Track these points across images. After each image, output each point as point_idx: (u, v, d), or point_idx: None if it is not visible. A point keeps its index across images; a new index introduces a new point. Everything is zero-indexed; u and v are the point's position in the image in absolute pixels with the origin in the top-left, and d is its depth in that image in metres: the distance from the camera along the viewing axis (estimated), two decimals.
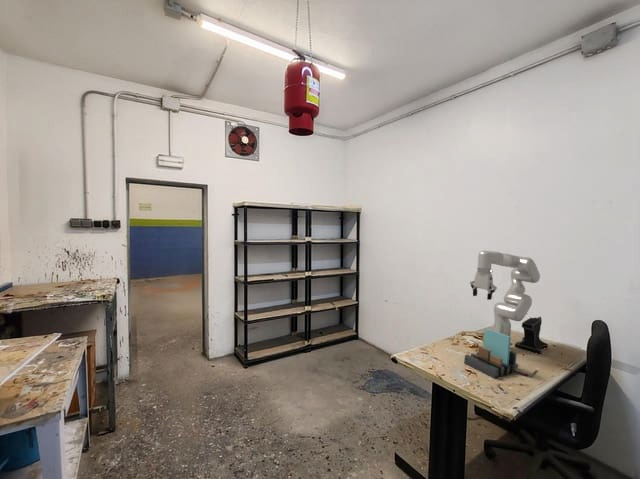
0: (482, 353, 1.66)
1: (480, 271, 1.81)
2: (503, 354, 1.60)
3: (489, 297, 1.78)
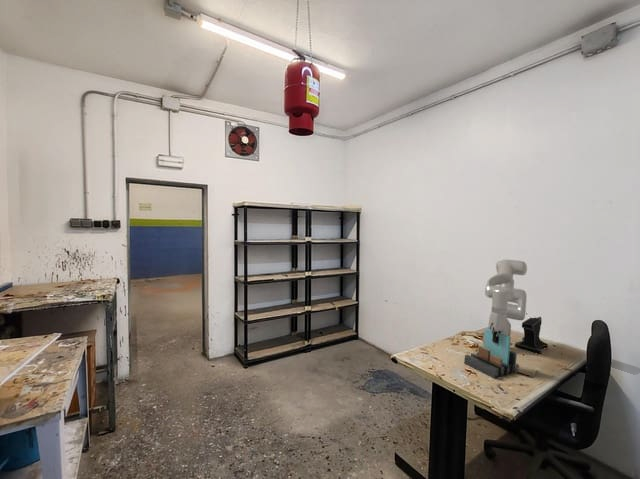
0: (482, 353, 1.66)
1: (505, 312, 1.61)
2: (503, 354, 1.60)
3: None
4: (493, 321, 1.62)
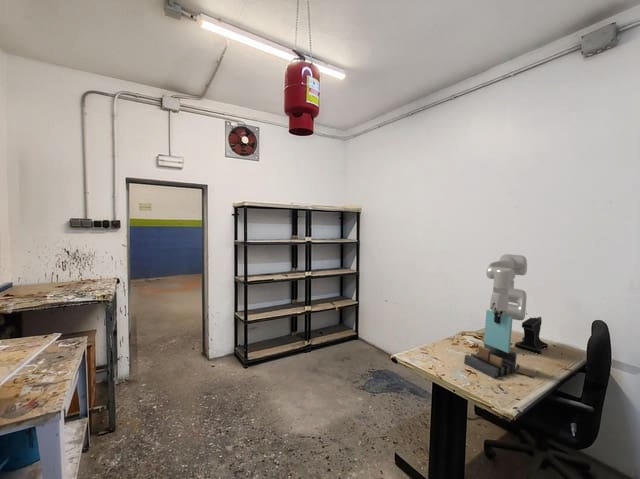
0: (482, 353, 1.66)
1: (507, 292, 1.60)
2: (505, 334, 1.60)
3: None
4: (495, 301, 1.61)
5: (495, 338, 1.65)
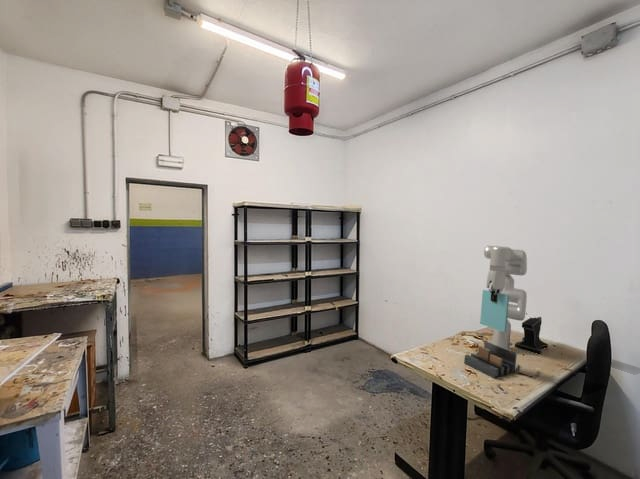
0: (482, 353, 1.66)
1: (504, 270, 1.58)
2: (501, 313, 1.57)
3: None
4: (491, 279, 1.59)
5: (491, 318, 1.62)
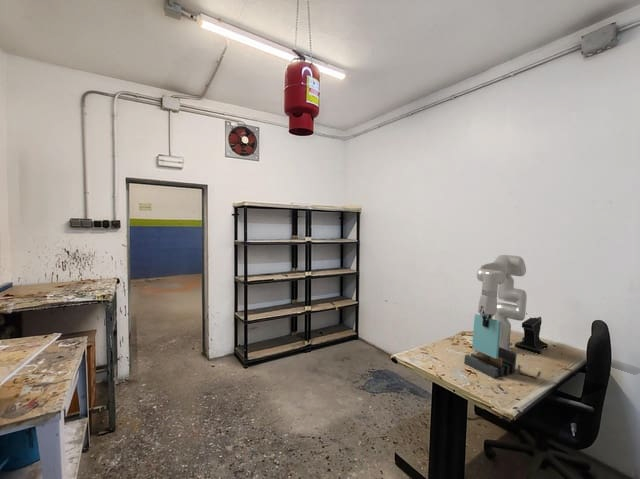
0: (482, 353, 1.66)
1: (496, 295, 1.56)
2: (493, 340, 1.55)
3: None
4: (483, 304, 1.57)
5: (483, 343, 1.60)
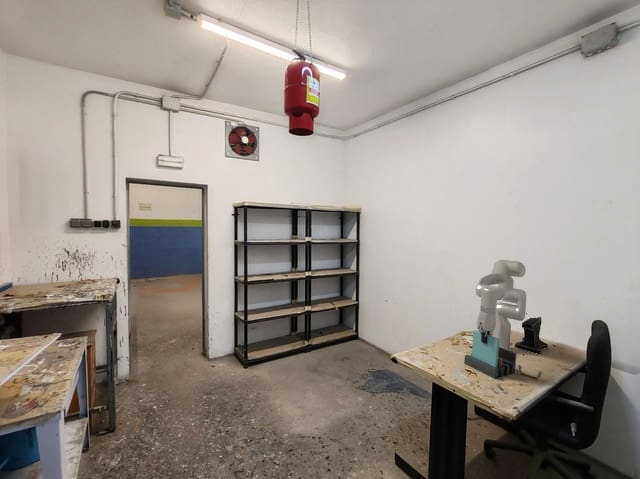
0: None
1: (494, 312, 1.56)
2: (492, 357, 1.56)
3: None
4: (482, 321, 1.57)
5: (482, 360, 1.61)
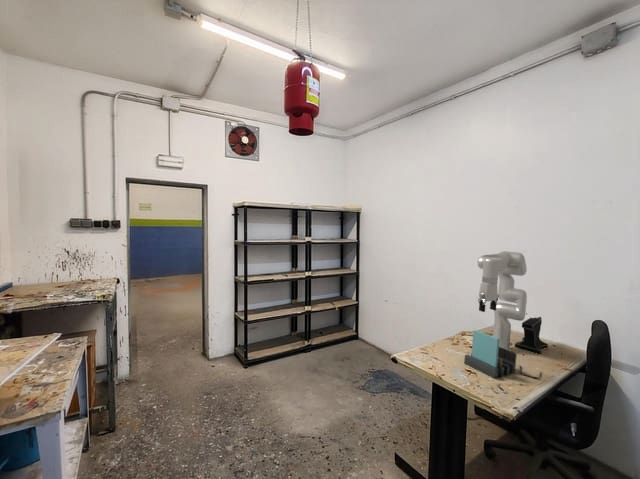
0: None
1: (496, 282, 1.58)
2: (491, 357, 1.56)
3: None
4: (484, 291, 1.59)
5: (482, 360, 1.61)
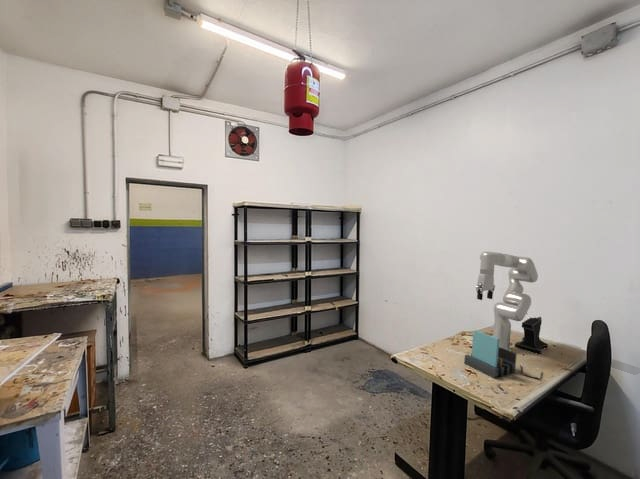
0: None
1: (492, 273, 1.77)
2: (491, 357, 1.56)
3: (491, 296, 1.83)
4: (481, 281, 1.78)
5: (482, 360, 1.61)
